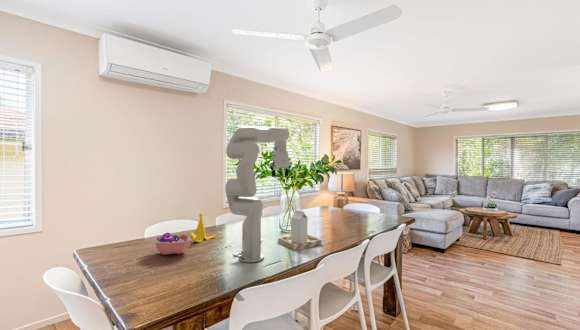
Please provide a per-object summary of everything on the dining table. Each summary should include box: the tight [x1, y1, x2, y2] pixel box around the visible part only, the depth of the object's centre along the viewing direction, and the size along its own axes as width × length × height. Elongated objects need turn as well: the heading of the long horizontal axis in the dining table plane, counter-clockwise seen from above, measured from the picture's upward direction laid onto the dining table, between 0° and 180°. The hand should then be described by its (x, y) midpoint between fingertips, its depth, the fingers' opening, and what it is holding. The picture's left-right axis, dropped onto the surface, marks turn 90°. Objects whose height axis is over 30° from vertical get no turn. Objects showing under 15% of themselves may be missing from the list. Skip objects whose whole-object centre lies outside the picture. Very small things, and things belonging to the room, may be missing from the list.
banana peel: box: [189, 213, 219, 243], centre depth 179 cm, size 17×19×17 cm
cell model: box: [153, 232, 193, 256], centre depth 151 cm, size 17×20×11 cm
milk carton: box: [290, 209, 309, 244], centre depth 170 cm, size 7×7×19 cm
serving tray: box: [277, 233, 323, 251], centre depth 171 cm, size 20×18×3 cm
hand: (280, 176), depth 177 cm, fingers open, 9 cm apart
